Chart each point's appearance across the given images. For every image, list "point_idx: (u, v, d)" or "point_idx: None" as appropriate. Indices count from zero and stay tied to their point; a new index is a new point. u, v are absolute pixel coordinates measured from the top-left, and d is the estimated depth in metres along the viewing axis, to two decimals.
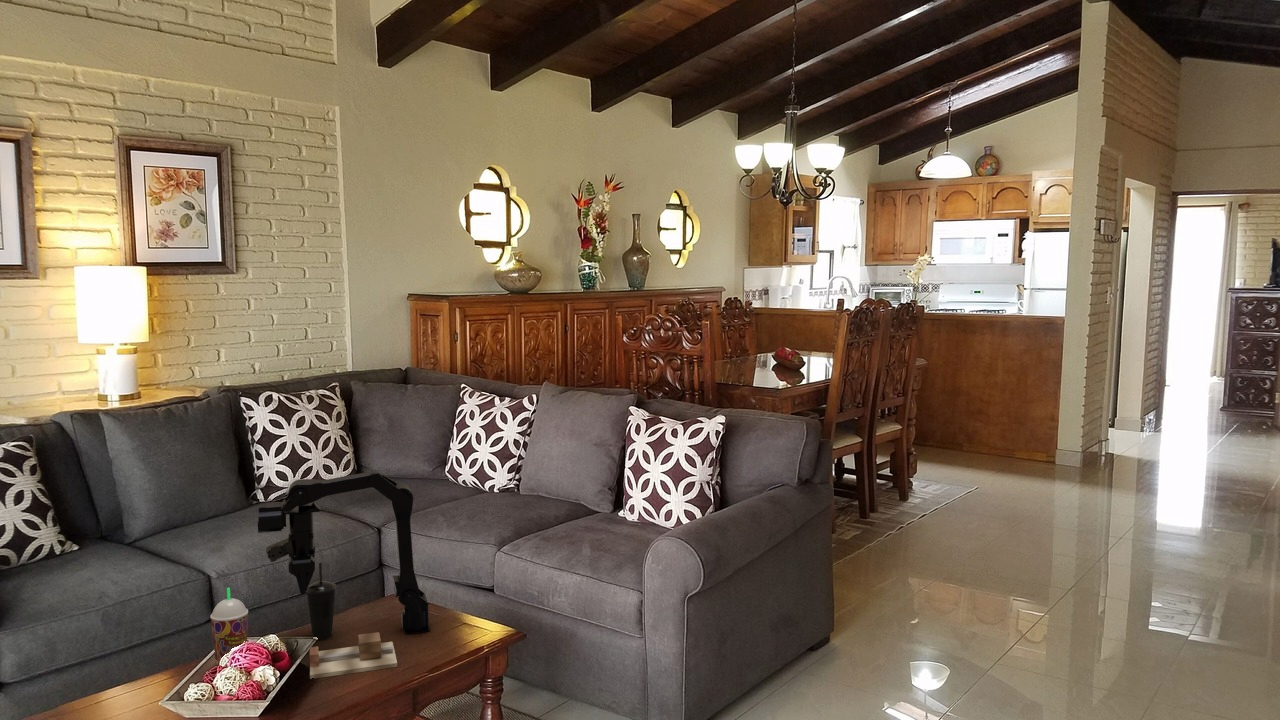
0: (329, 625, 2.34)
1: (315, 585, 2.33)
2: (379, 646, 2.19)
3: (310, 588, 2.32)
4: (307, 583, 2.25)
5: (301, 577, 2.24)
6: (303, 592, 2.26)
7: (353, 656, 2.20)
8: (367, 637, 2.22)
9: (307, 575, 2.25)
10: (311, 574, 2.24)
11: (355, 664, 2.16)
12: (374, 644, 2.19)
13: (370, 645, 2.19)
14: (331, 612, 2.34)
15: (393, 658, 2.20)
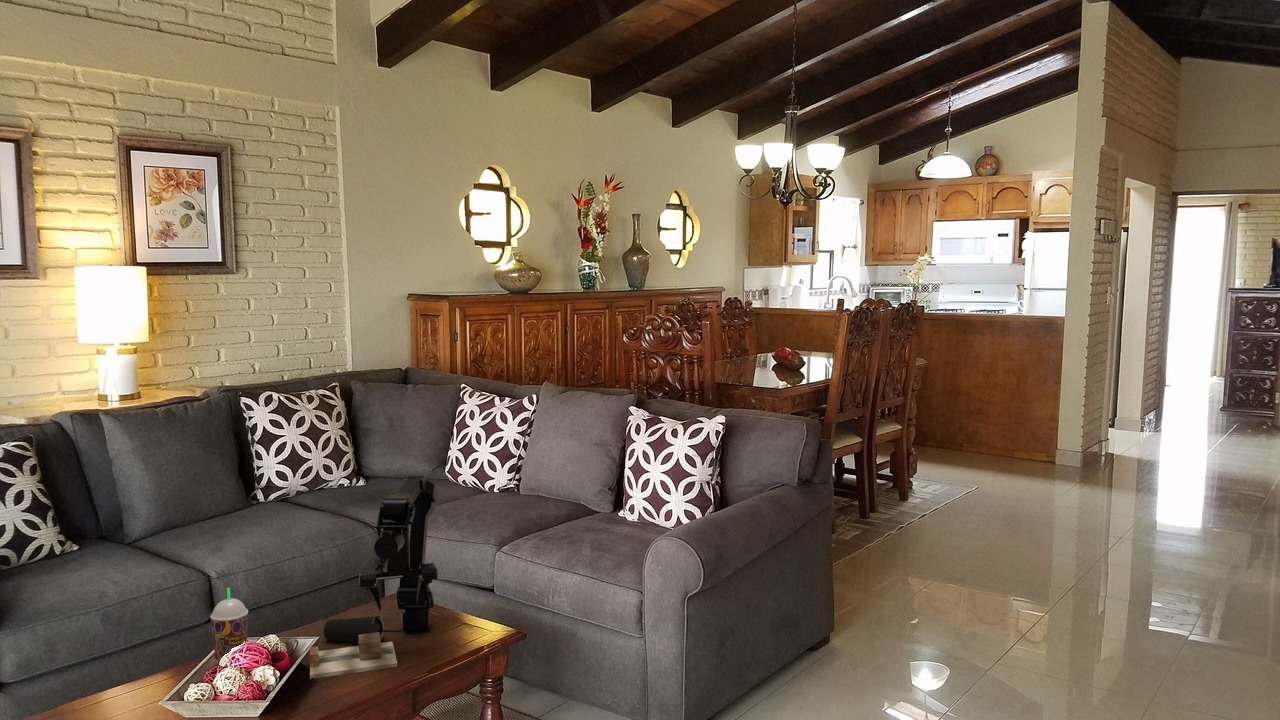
0: None
1: None
2: (379, 646, 2.19)
3: (373, 632, 2.29)
4: (375, 600, 2.20)
5: None
6: None
7: (353, 656, 2.20)
8: (367, 637, 2.22)
9: None
10: None
11: (355, 664, 2.16)
12: (374, 644, 2.19)
13: (370, 645, 2.19)
14: None
15: (393, 658, 2.20)
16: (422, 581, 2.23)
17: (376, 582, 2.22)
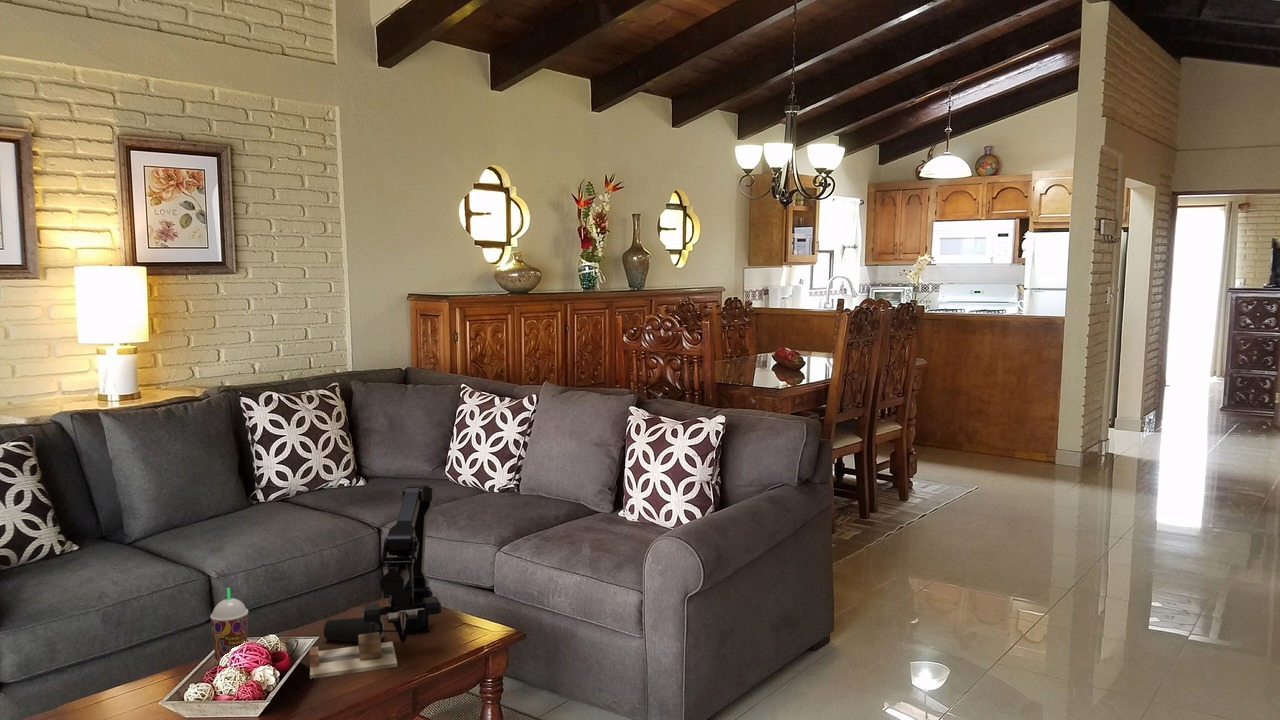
0: None
1: None
2: (379, 646, 2.19)
3: (373, 632, 2.29)
4: None
5: None
6: None
7: (353, 656, 2.20)
8: (367, 637, 2.22)
9: None
10: None
11: (355, 664, 2.16)
12: (374, 644, 2.19)
13: (370, 645, 2.19)
14: None
15: (393, 658, 2.20)
16: (408, 618, 2.22)
17: (398, 615, 2.24)
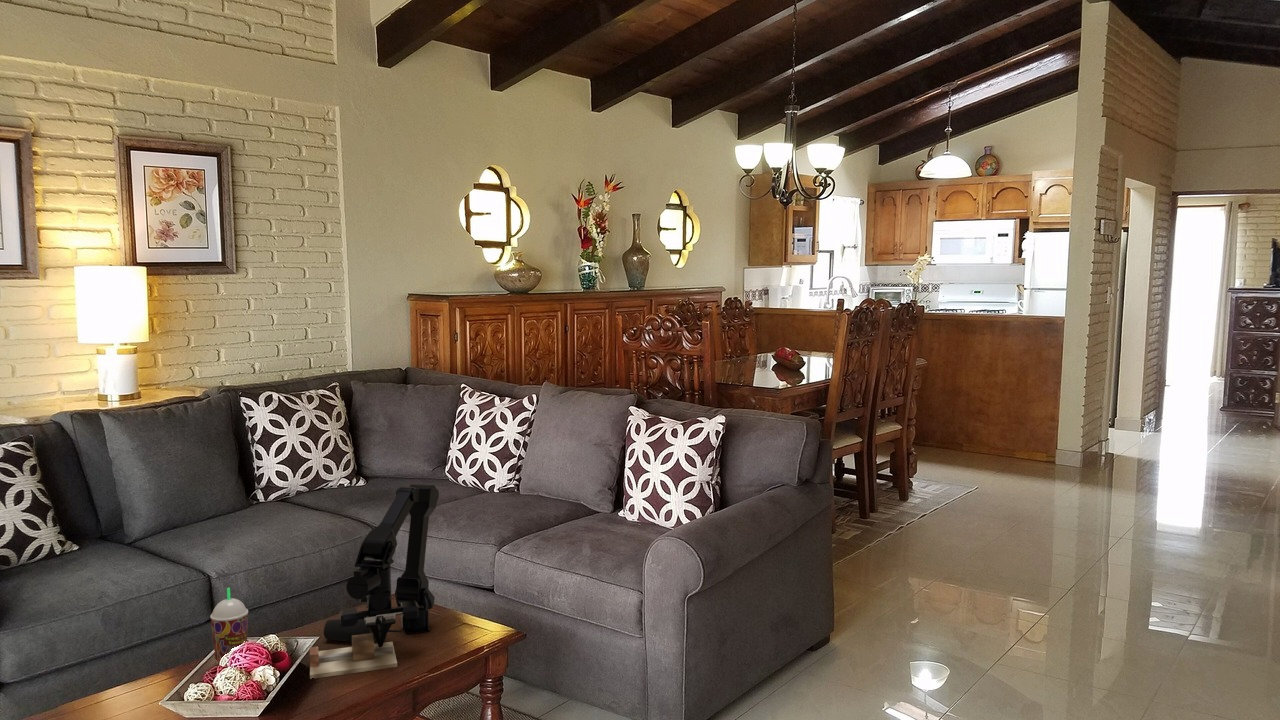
0: None
1: None
2: (372, 647, 2.19)
3: None
4: (375, 637, 2.21)
5: None
6: None
7: None
8: (360, 638, 2.21)
9: None
10: None
11: (355, 664, 2.16)
12: (367, 645, 2.18)
13: (363, 646, 2.18)
14: None
15: (393, 658, 2.20)
16: (385, 622, 2.20)
17: (376, 619, 2.22)
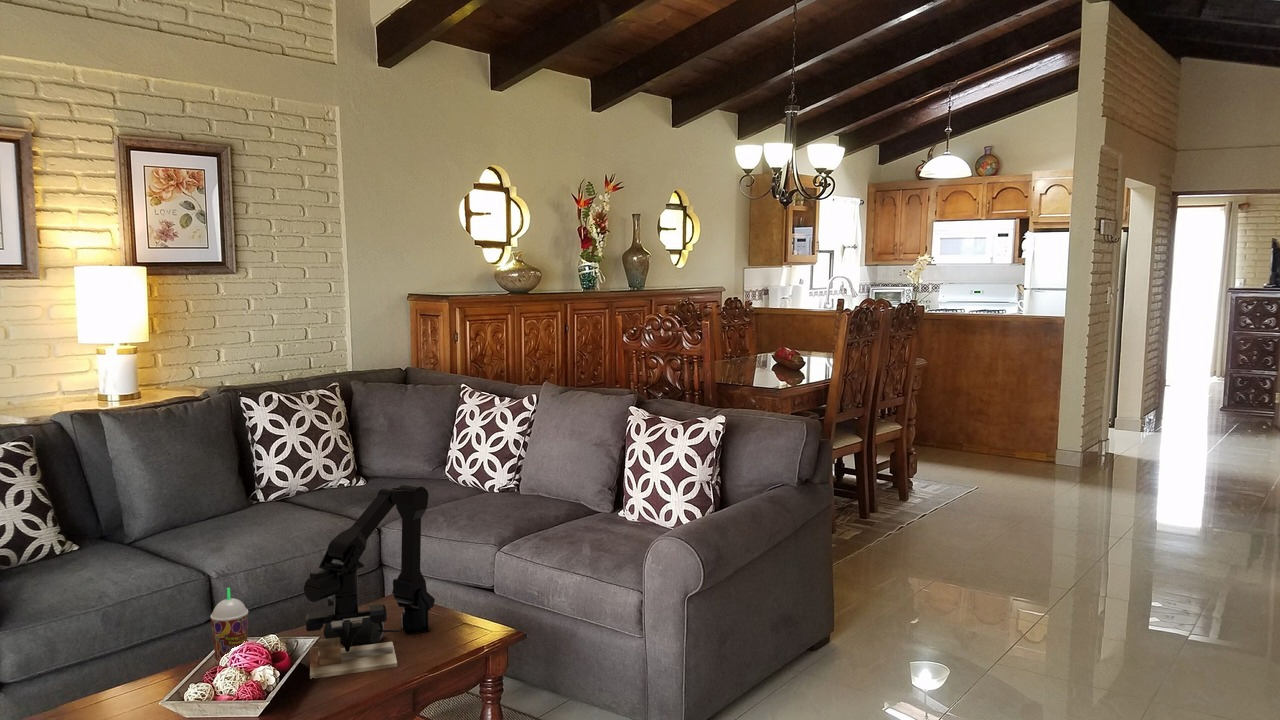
0: None
1: (377, 633, 2.30)
2: (339, 651, 2.16)
3: (373, 632, 2.29)
4: (342, 641, 2.18)
5: None
6: None
7: (353, 656, 2.20)
8: (327, 642, 2.18)
9: None
10: None
11: (355, 664, 2.16)
12: (334, 649, 2.16)
13: (330, 650, 2.15)
14: None
15: (393, 658, 2.20)
16: (352, 626, 2.17)
17: (343, 623, 2.19)
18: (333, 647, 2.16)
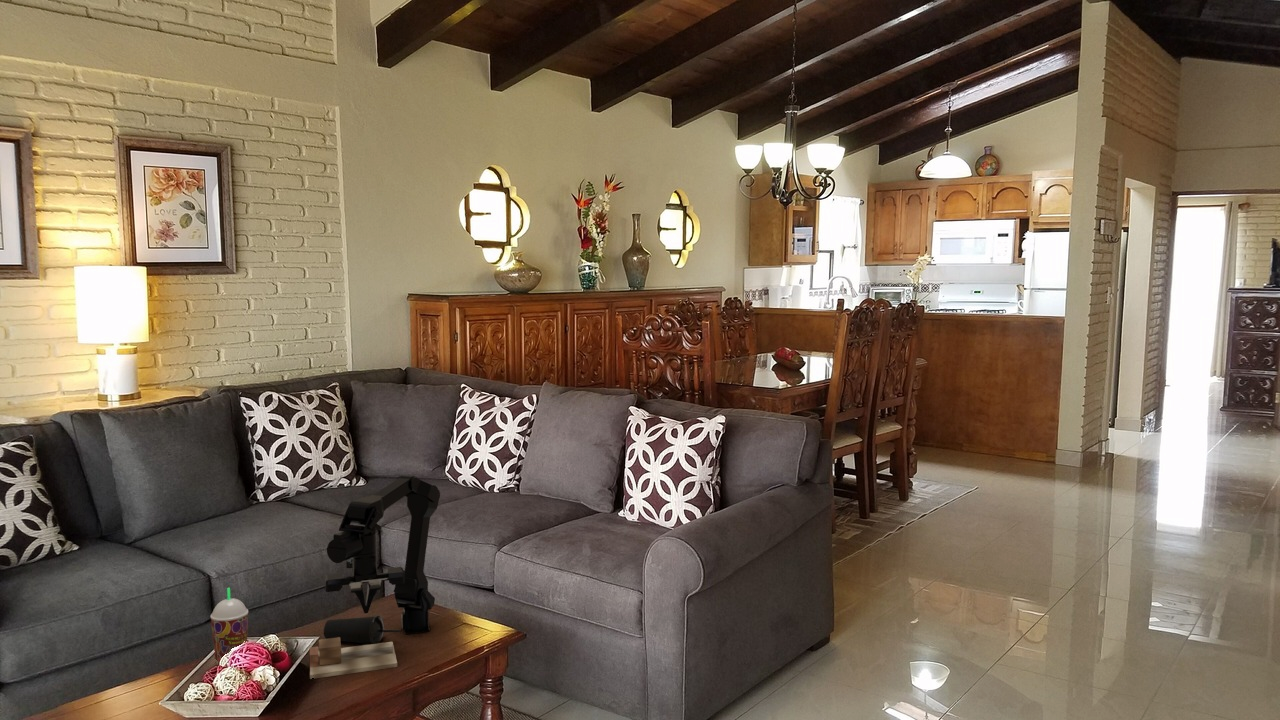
0: None
1: (377, 633, 2.30)
2: (339, 651, 2.16)
3: (373, 632, 2.29)
4: None
5: None
6: None
7: (353, 656, 2.20)
8: (327, 642, 2.18)
9: None
10: None
11: (355, 664, 2.16)
12: (334, 649, 2.16)
13: (330, 650, 2.15)
14: None
15: (393, 658, 2.20)
16: (371, 587, 2.19)
17: (361, 585, 2.21)
18: (333, 647, 2.16)
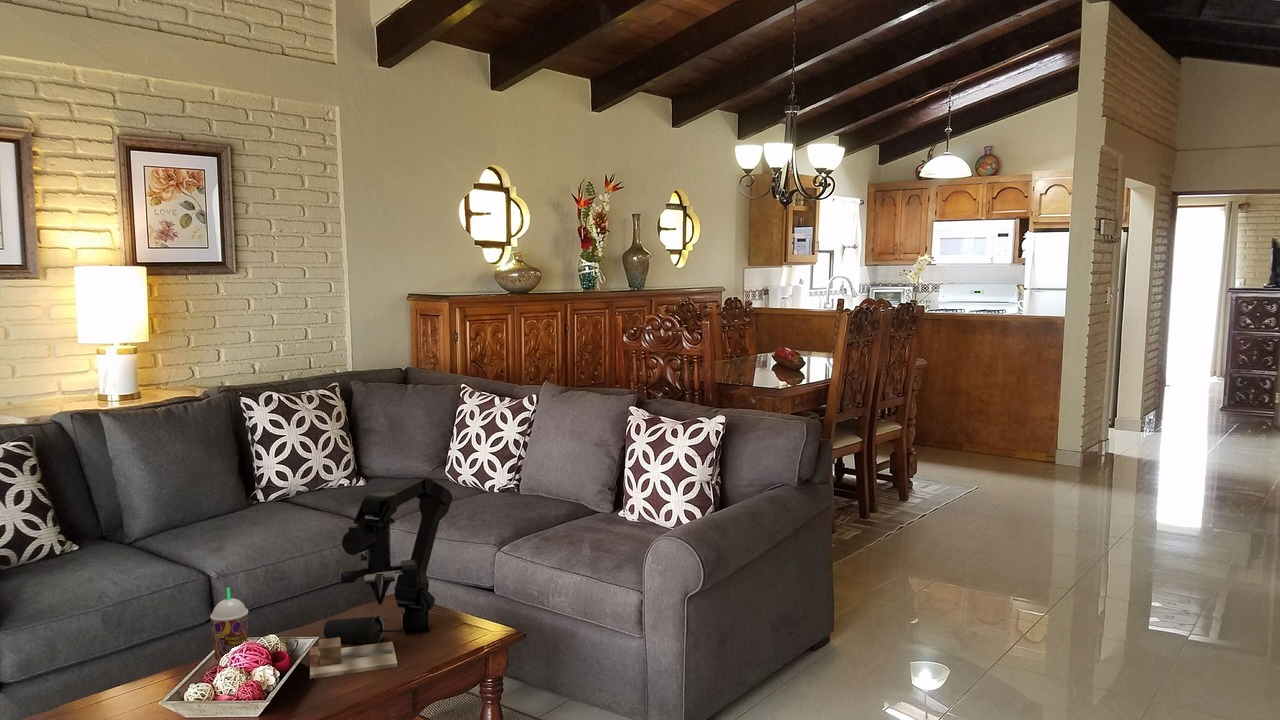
0: None
1: (377, 633, 2.30)
2: (339, 651, 2.16)
3: (373, 632, 2.29)
4: None
5: None
6: None
7: (353, 656, 2.20)
8: (327, 642, 2.18)
9: None
10: None
11: (355, 664, 2.16)
12: (334, 649, 2.16)
13: (330, 650, 2.15)
14: None
15: (393, 658, 2.20)
16: (385, 579, 2.24)
17: (375, 577, 2.26)
18: (333, 647, 2.16)
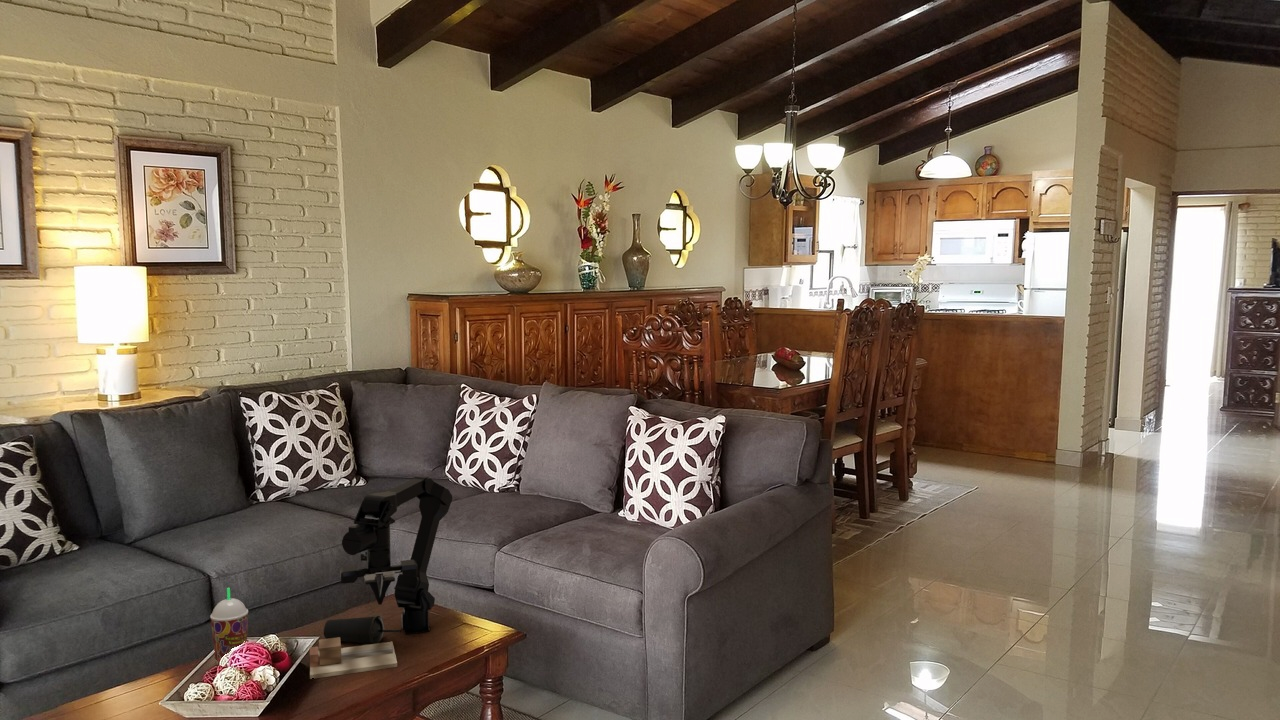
0: None
1: (377, 633, 2.30)
2: (339, 651, 2.16)
3: (373, 632, 2.29)
4: None
5: None
6: None
7: (353, 656, 2.20)
8: (327, 642, 2.18)
9: None
10: None
11: (355, 664, 2.16)
12: (334, 649, 2.16)
13: (330, 650, 2.15)
14: None
15: (393, 658, 2.20)
16: (385, 579, 2.24)
17: (375, 577, 2.26)
18: (333, 647, 2.16)
